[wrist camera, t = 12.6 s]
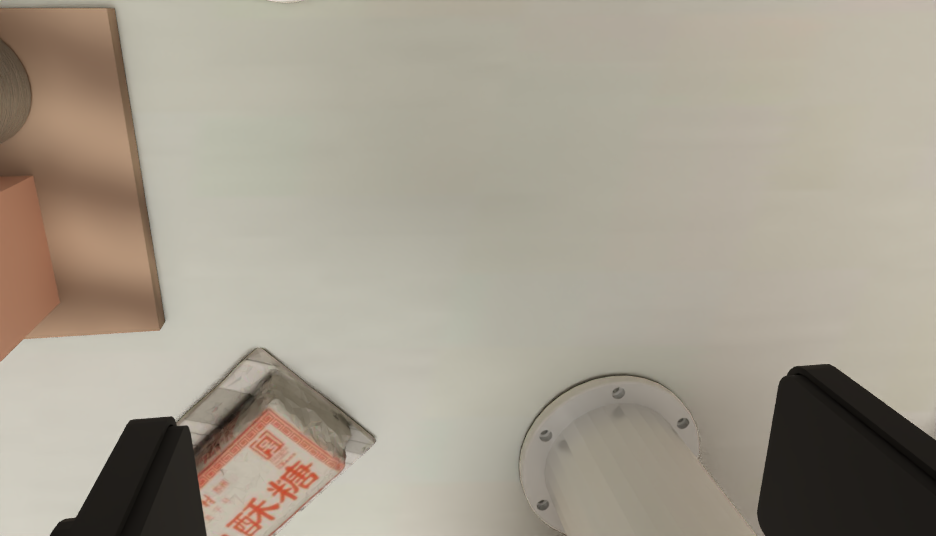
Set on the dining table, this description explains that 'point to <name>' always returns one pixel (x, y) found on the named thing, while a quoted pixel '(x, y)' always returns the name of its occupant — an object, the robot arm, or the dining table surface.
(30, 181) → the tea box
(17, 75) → the tin
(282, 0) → the knuckle duster
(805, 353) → the dining table surface
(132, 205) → the shelf board
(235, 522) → the packaged product
